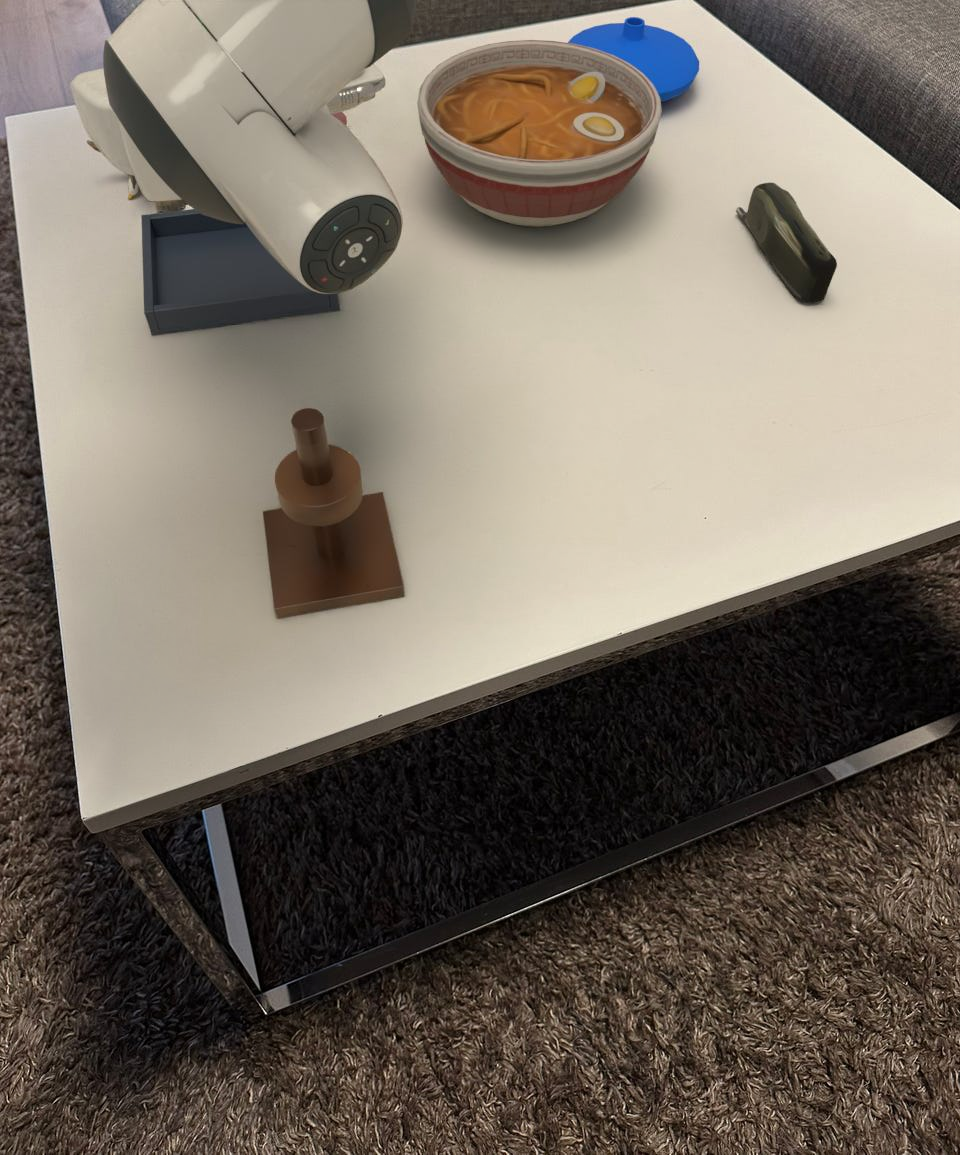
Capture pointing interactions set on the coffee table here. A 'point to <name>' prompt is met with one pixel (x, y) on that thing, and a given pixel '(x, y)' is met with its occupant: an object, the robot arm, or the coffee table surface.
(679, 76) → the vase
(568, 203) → the bowl
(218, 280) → the tray
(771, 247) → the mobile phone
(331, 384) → the coffee table surface
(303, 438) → the peg stand
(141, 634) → the coffee table surface
